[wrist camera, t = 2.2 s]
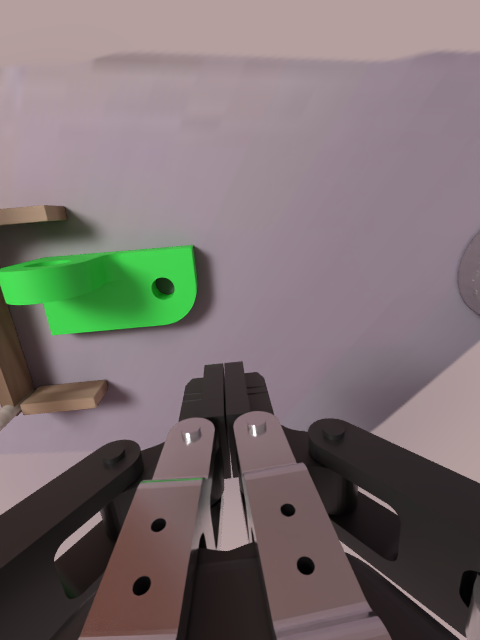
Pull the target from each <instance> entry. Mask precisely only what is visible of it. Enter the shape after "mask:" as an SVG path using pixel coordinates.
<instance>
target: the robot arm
mask: <svg viewBox="0 0 480 640" xmlns="http://www.w3.org/2000/svg"><path fill="white" fill-rule="evenodd" d="M458 284H459V289H460V293H461V296H462V298H463V300H464V302H465V303H466V304H467V305H468V306H469V308H470V309H472V310H473V311H475V312H476V313H478V314H480V232H479V233H478V234H477V235H476V236H475V238H474V239H473V240H472V241H471V243H470V245H469V246H468V248H467V249H466V251H465V253H464V256H463V258H462V260H461V264H460V268H459V274H458ZM224 364H225V376H224V367H223V363H222V364H212V365H205V367H204V378H195V379H192V380H191V381H190V382H189V383H188V384H187V385H186V386H185V392H184V397H183V402H182V407H181V412H180V417H179V422H178V423H177V424H175V425H174V426H173V427H172V428H171V429H170V430H169V432H168V435H167V438H166V441H165V442H163V443H161V444H159V445H157V446H154V447H151V448H148V449H145V450H142V451H141V450H140V446H139V445H138V444H137V443H136V442H134V441H132V440H118V441H114V442H111V443H108V444H106V445H104V446H102V447H101V448H99V449H98V450H96V451H95V452H93V453H92V454H90V455H89V456H87V457H86V458H84V459H83V460H81V461H80V462H79V463H77V464H75V465H74V466H72V467H71V468H70V469H68V470H67V471H65V472H64V473H62V474H61V475H59V476H58V477H56V478H55V479H53V480H52V481H50V482H49V483H48V484H46V485H45V486H43V487H41V488H40V489H39V490H37V491H36V492H34V493H33V494H31V495H30V496H28V497H27V498H25V499H24V500H22V501H21V502H19V503H18V504H16V505H15V506H14V507H12V508H11V509H9V510H8V511H6V512H5V513H3V514H2V515H0V640H459V639H458V638H457V637H456V636H455V635H453V634H452V633H451V632H450V631H449V630H447V629H446V628H445V627H444V626H443V625H441V624H440V623H439V622H438V621H436V620H435V619H434V618H433V617H431V616H430V615H429V614H428V613H427V612H425V611H424V610H423V609H422V608H421V607H419V606H418V605H417V604H416V603H414V602H413V601H412V600H411V599H410V598H408V597H407V596H406V595H405V594H403V593H402V592H401V591H400V590H399V589H397V588H396V587H395V586H394V585H392V584H391V583H390V582H389V581H388V580H386V579H385V578H384V577H383V576H382V575H380V574H379V573H378V572H377V571H375V570H374V569H373V568H371V567H370V566H369V565H367V564H366V563H364V562H363V561H361V560H360V559H358V558H356V557H354V556H352V555H350V554H348V553H345V552H344V550H343V548H342V545H341V543H340V541H341V542H342V543H344V544H345V545H346V546H348V547H349V548H351V549H352V550H353V551H354V552H355V553H357V554H358V555H359V556H361V557H362V558H363V559H365V560H366V561H367V562H368V563H370V564H371V565H372V566H374V567H375V568H376V569H378V570H379V571H380V572H382V573H383V574H384V575H385V576H387V577H388V578H389V579H391V580H392V581H393V582H395V583H396V584H397V585H398V586H400V587H401V588H402V589H403V590H405V591H406V592H407V593H409V594H410V595H411V596H413V597H414V598H415V599H416V600H418V601H419V602H421V603H422V604H423V605H424V606H426V607H427V608H428V609H429V610H431V611H432V612H434V613H435V614H436V615H437V616H439V617H440V618H441V619H443V620H444V621H445V622H447V623H448V624H449V625H450V626H452V627H453V628H454V629H455V630H457V631H458V632H459V633H461V634H462V635H463V636H464V637H466V638H467V640H480V483H478V482H476V481H473V480H471V479H469V478H467V477H465V476H462V475H460V474H458V473H456V472H454V471H452V470H450V469H447V468H445V467H443V466H441V465H439V464H437V463H434V462H432V461H430V460H428V459H426V458H424V457H421V456H419V455H417V454H415V453H413V452H411V451H408V450H406V449H404V448H402V447H400V446H398V445H395V444H393V443H391V442H389V441H387V440H385V439H382V438H380V437H378V436H376V435H374V434H372V433H369V432H367V431H365V430H363V429H361V428H359V427H356V426H354V425H352V424H350V423H348V422H345V421H343V420H339V419H331V418H329V419H321V420H318V421H316V422H314V423H313V424H312V425H311V426H310V427H309V429H308V432H305V431H297V430H292V429H289V428H286V427H284V426H282V425H281V424H280V422H279V420H278V418H277V417H276V416H274V413H273V409H272V406H271V402H270V398H269V394H268V391H267V387H266V383H265V380H264V378H263V377H262V376H261V375H260V374H259V373H257V372H253V373H244V368H243V362H242V361H241V362H231V363H224ZM230 454H231V463H232V471H233V477H234V478H235V477H239V485H240V495H241V503H242V509H243V514H244V521H245V526H246V533H247V539H248V544H247V545H244V546H241V547H238V548H236V549H233V550H230V551H220V547H221V545H220V544H221V533H222V531H221V530H222V519H223V505H224V499H223V491H224V479H227V478H231V465H230ZM358 486H359V487H361V488H362V489H364V490H366V491H368V492H369V493H371V494H372V495H374V496H376V497H377V498H379V499H381V500H382V501H384V502H385V503H387V504H389V505H390V506H391V507H392V508H393V509H394V510H395V511H396V513H397V514H398V515H396V514H394V513H393V512H391V511H390V510H388V509H387V508H385V507H383V506H382V505H380V504H378V503H377V502H375V501H374V500H372V499H370V498H369V497H367V496H366V495H364V494H362V493H360V492H359V491H358ZM99 511H100V512H101V516H102V519H103V520H102V521H101V522H99V523H98V524H97V525H96V526H95V527H94V528H93V529H92V530H90V531H89V532H88V533H87V534H86V535H85V536H83V537H82V538H81V539H80V540H79V541H78V542H77V543H76V544H74V545H73V546H72V547H71V548H70V549H69V550H67V552H65V553H64V554H63V555H62V556H61V557H59V558H58V559H57V560H56V561H55V562H54V557H55V554H56V552H57V550H58V548H59V546H60V545H61V544H62V543H63V542H64V541H65V539H67V538H68V537H69V536H70V535H71V534H73V533H74V532H75V531H76V530H77V529H78V528H80V527H81V526H82V525H83V524H85V523H86V522H87V521H88V520H89V519H90V518H92V517H93V516H94V515H95V514H96V513H98V512H99ZM339 540H340V541H339Z"/></svg>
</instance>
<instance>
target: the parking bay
mask: <svg viewBox="0 0 480 640" xmlns="http://www.w3.org/2000/svg"><path fill="white" fill-rule="evenodd" d="M61 220H67V216H66V212H65V208H64V206H47V205H42V206H30V207H18V208H7V209H0V226H3V225H14V224H26V223H38V222H49V221H61ZM107 390H108V387H107V383H106V380H98V381H88V382H78V383H68V384H58V385H48V386H39V387H38V388H37V389H36V390H35V389H34V386H33V383H32V380H31V376H30V373H29V370H28V367H27V364H26V361H25V358H24V355H23V352H22V348H21V345H20V342H19V339H18V336H17V333H16V330H15V327H14V324H13V320H12V317H11V314H10V311H9V308H8V305H7V303H6V302H5V299H4V295H3V292H2V289H1V286H0V404H1V407H2V408H1V409H0V431H1V430H2V429H3V428H4V427H5V426H6V425H7V424H8V423H9V422H10V421H11V420H12V419H13V418H14V417H15V416H18V415H19V414H20V413H21V412H23V415H30V414H40V413H50V412H60V411H70V410H79V409H89V408H96V407H97V406H98V404H99V403H100V401H101V400H102V398H103V396H104V395H105V393H106V392H107Z"/></svg>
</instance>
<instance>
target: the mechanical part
mask: <svg viewBox="0 0 480 640" xmlns="http://www.w3.org/2000/svg"><path fill="white" fill-rule="evenodd" d="M161 277H163V278H167V279H169V280H170V281H171V282H172V283H173V285H174V289H175V290H174V292H173V293H172V294H163V293H161V292H160V291H159V290H158V289H157V287H156V280H157V278H161ZM0 286H1V289H2V292H3V295H4V299H5V302H6V303H7V304H10V305H31V304H40V303H43V304H44V308H45V312H46V315H47V319H48V322H49V326H50V329H51V333H52V335H60V334H71V333H82V332H93V331H104V330H115V329H126V328H137V327H148V326H159V325H168V324H172V323H174V322H177V321H179V320H180V319H182V318H183V317H184V316H185V315H186V314H187V313H188V312H189V311H190V309H191V308H192V306H193V304H194V301H195V298H196V295H197V290H198V281H197V273H196V264H195V256H194V248H193V245H188V246H176V247H164V248H152V249H140V250H128V251H116V252H104V253H92V254H80V255H69V256H57V257H45V258H40V259H36V260H32V261H28V262H24V263H20V264H16V265H12V266H8V267H4V268H0Z"/></svg>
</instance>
